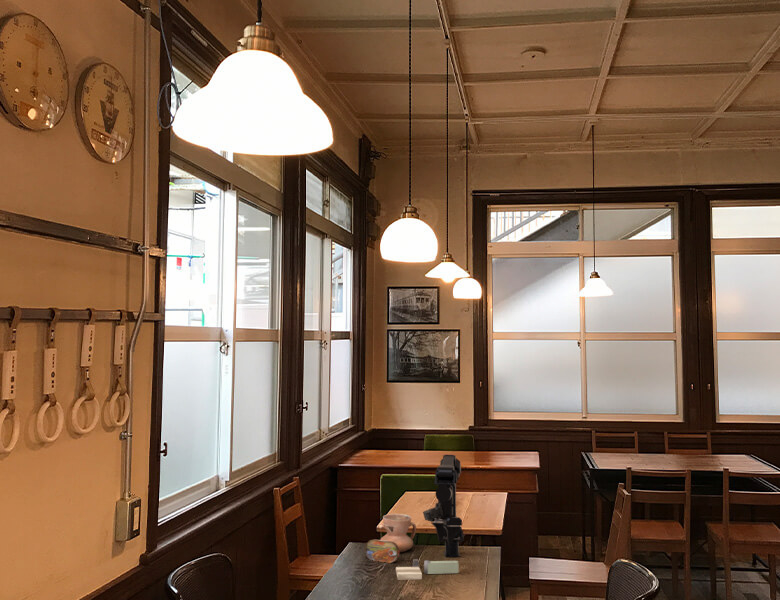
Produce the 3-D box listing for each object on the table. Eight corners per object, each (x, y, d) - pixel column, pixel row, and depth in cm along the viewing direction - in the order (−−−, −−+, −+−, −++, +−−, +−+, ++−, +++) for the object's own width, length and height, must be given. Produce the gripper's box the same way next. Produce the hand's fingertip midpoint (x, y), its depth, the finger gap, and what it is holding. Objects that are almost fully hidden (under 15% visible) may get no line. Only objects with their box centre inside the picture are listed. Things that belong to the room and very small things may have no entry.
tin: (364, 559, 290) (364, 538, 290) (368, 557, 292) (368, 537, 293) (396, 564, 283) (397, 543, 283) (400, 562, 285) (400, 541, 286)
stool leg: (424, 573, 270) (424, 562, 270) (423, 571, 272) (423, 560, 273) (458, 573, 271) (458, 561, 271) (457, 571, 273) (457, 559, 274)
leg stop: (412, 566, 280) (412, 559, 280) (417, 566, 280) (417, 559, 280) (413, 568, 278) (413, 560, 278) (418, 568, 278) (418, 560, 278)
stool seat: (395, 572, 272) (395, 567, 273) (418, 571, 273) (418, 566, 273) (398, 579, 264) (398, 574, 264) (421, 579, 264) (421, 573, 265)
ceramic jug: (384, 556, 294) (385, 521, 295) (371, 547, 307) (372, 514, 308) (423, 552, 301) (424, 519, 302) (409, 543, 314) (409, 511, 315)
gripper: (417, 498, 273) (416, 540, 270) (434, 501, 256) (433, 546, 252) (443, 499, 276) (443, 540, 273) (462, 502, 259) (462, 546, 256)
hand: (445, 543), depth 263 cm, fingers open, 9 cm apart
